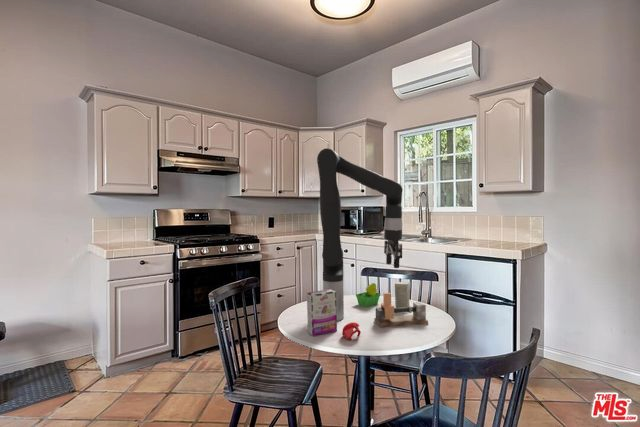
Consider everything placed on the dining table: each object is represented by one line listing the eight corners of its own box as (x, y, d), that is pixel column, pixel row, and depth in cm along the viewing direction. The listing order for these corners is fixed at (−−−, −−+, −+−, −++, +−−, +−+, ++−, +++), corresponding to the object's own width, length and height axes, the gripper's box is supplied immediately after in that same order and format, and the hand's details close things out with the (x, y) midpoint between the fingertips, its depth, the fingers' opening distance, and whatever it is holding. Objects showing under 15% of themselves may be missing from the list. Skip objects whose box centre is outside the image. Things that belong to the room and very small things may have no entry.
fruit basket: (370, 300, 187) (370, 279, 186) (383, 304, 180) (383, 282, 179) (354, 304, 179) (354, 282, 179) (367, 308, 173) (367, 285, 172)
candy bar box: (331, 327, 147) (330, 288, 146) (337, 331, 142) (336, 291, 142) (306, 332, 142) (306, 292, 141) (312, 336, 137) (311, 294, 137)
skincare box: (409, 307, 174) (409, 282, 173) (408, 309, 170) (407, 284, 169) (396, 305, 176) (396, 281, 176) (394, 308, 172) (394, 283, 172)
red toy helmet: (366, 329, 135) (357, 318, 139) (357, 328, 131) (348, 316, 135) (353, 344, 137) (345, 333, 141) (344, 344, 132) (336, 332, 136)
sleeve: (385, 319, 148) (384, 295, 147) (380, 315, 153) (380, 291, 153) (394, 318, 148) (394, 294, 148) (389, 314, 154) (389, 291, 153)
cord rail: (380, 327, 146) (380, 309, 146) (374, 321, 154) (374, 303, 154) (428, 324, 150) (427, 306, 149) (419, 318, 157) (419, 300, 157)
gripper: (379, 227, 158) (378, 263, 159) (391, 230, 144) (390, 269, 145) (395, 227, 160) (394, 263, 160) (408, 229, 146) (407, 269, 146)
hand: (392, 266), depth 153 cm, fingers open, 8 cm apart
